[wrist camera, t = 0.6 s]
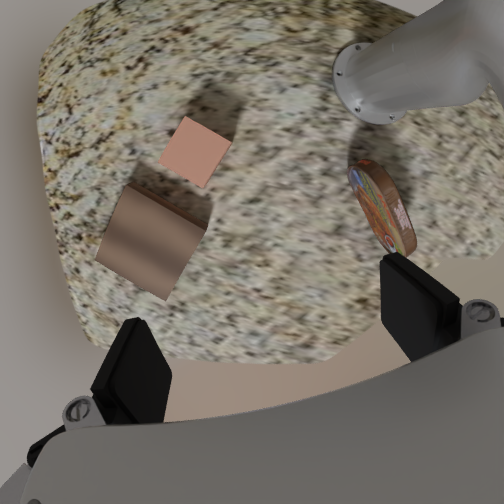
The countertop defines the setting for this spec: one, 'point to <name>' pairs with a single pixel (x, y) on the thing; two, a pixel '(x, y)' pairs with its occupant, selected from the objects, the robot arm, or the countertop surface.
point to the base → (149, 240)
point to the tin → (382, 206)
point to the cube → (194, 152)
